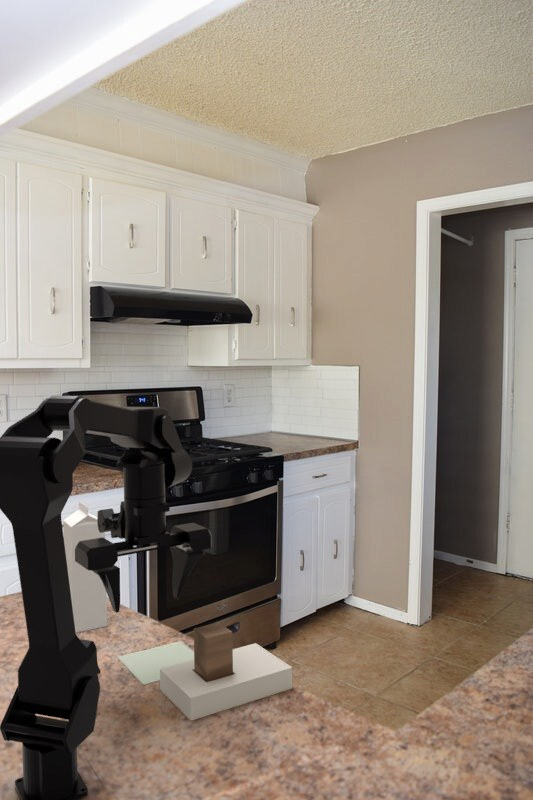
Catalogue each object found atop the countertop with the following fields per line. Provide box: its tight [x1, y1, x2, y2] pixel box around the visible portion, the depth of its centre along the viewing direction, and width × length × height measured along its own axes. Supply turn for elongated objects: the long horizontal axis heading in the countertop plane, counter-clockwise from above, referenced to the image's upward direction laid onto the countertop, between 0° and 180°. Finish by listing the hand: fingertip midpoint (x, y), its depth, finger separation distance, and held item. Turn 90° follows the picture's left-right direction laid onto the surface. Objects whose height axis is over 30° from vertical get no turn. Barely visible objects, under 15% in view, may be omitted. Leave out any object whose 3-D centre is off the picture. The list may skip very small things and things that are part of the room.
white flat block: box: [159, 642, 293, 721], centre depth 97 cm, size 10×16×4 cm, turn 122°
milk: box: [62, 500, 108, 634], centre depth 122 cm, size 6×6×22 cm
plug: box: [193, 622, 234, 682], centre depth 96 cm, size 4×4×9 cm
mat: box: [117, 641, 194, 686], centre depth 106 cm, size 11×11×1 cm
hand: (147, 604), depth 96 cm, fingers open, 9 cm apart
